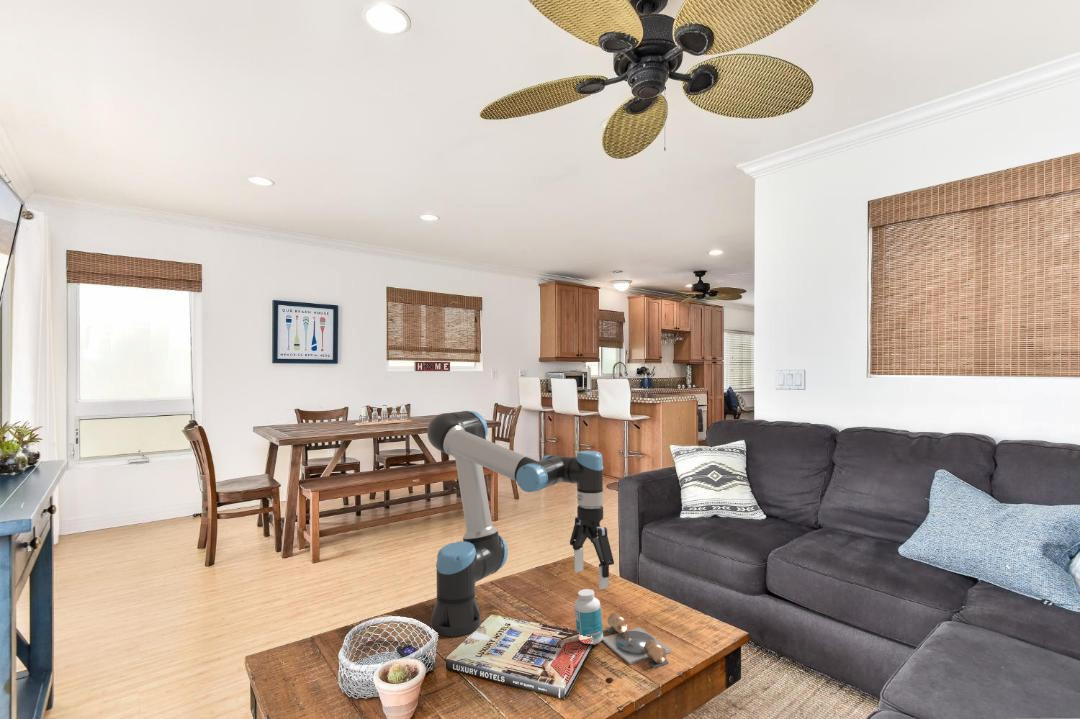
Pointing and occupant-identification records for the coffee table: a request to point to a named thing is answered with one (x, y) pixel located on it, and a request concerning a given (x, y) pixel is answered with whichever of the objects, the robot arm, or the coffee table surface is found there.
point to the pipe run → (634, 643)
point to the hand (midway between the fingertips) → (590, 579)
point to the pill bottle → (588, 615)
